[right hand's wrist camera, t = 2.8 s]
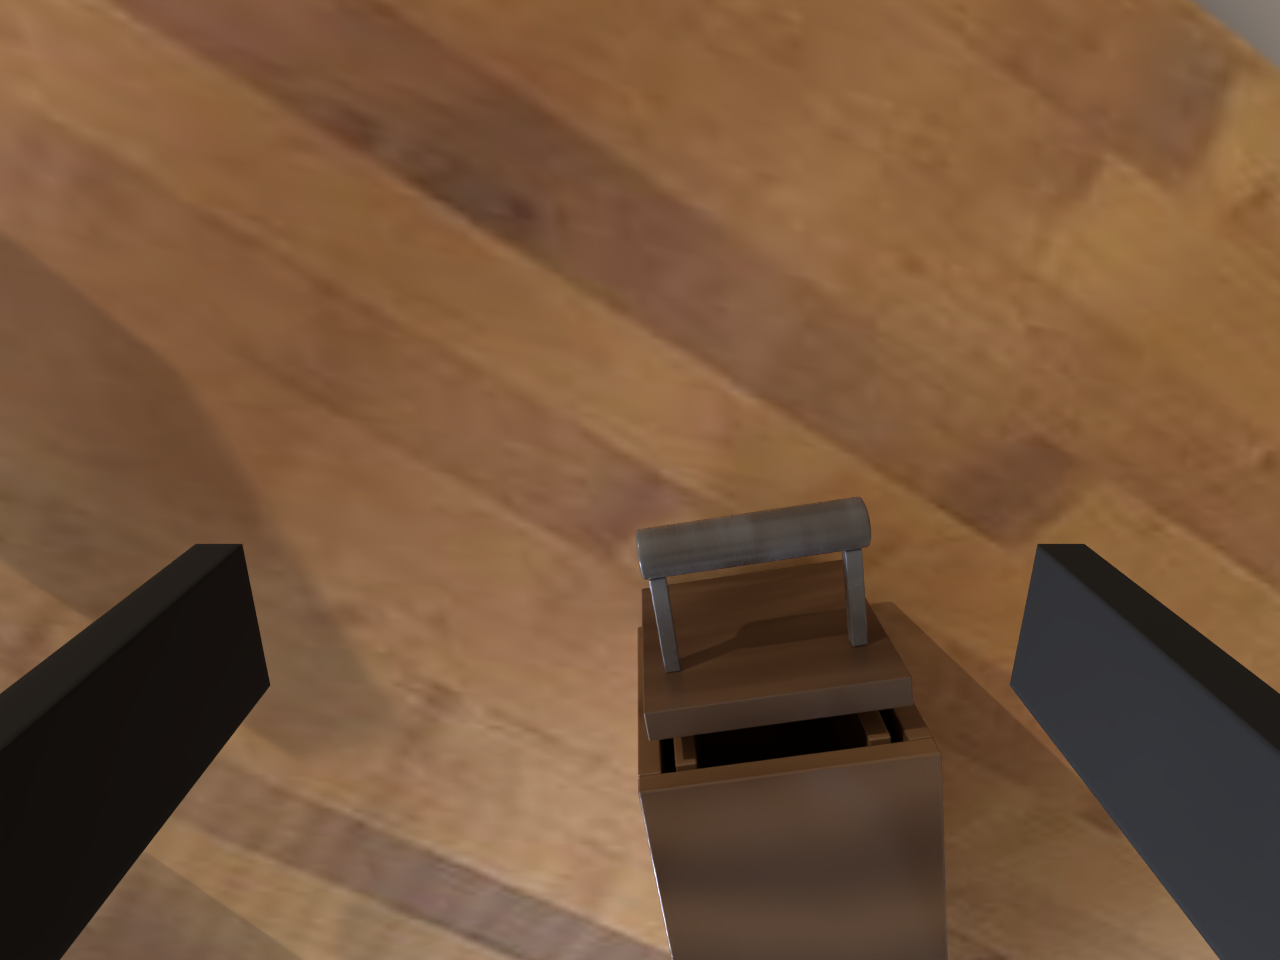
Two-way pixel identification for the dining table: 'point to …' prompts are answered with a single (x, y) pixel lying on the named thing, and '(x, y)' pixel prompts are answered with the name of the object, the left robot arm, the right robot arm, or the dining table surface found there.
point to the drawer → (765, 638)
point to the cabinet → (800, 849)
